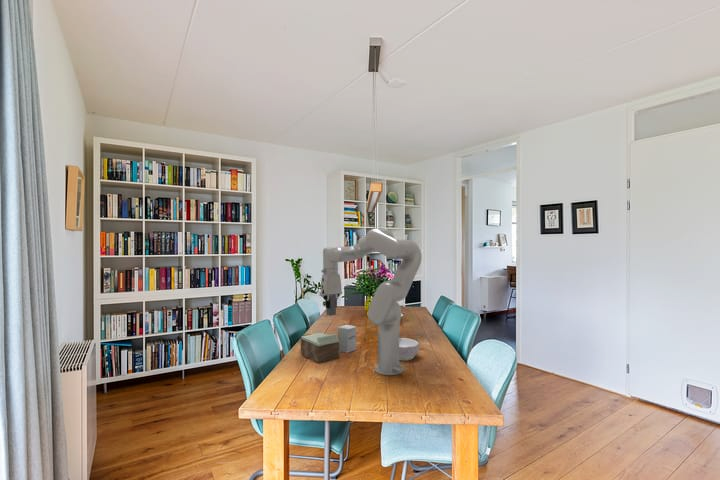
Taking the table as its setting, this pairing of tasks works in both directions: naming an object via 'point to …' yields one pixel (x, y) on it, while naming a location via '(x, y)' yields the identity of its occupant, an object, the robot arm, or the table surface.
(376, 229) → the robot arm
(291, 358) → the table surface
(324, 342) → the lid
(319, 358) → the box
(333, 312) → the dark grey tall block
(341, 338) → the supplement box
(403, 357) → the paper bowls
